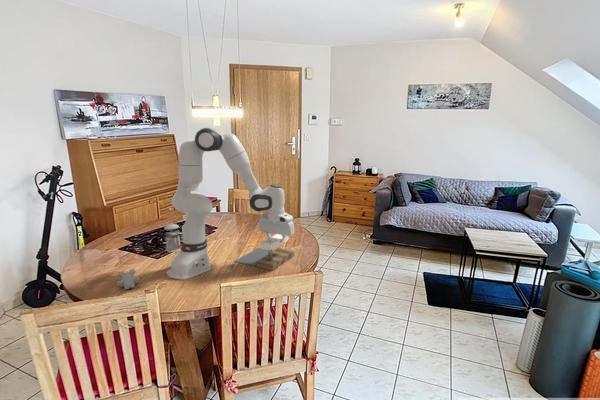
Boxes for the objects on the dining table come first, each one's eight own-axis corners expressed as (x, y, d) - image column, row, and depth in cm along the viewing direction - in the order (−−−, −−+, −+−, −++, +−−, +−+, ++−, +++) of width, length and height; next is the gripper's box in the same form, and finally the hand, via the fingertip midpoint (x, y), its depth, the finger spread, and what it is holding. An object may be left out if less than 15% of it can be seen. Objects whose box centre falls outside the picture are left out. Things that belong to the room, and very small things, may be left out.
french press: (174, 245, 208) (171, 205, 202) (188, 248, 202) (184, 207, 196) (161, 250, 199) (156, 208, 194) (174, 254, 194) (170, 211, 188)
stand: (273, 270, 172) (272, 248, 169) (256, 267, 176) (255, 245, 173) (294, 255, 191) (294, 235, 188) (279, 252, 195) (278, 232, 192)
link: (270, 250, 171) (270, 244, 171) (260, 247, 174) (260, 242, 174) (288, 239, 187) (288, 234, 186) (279, 238, 190) (279, 233, 189)
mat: (254, 266, 177) (254, 265, 177) (234, 261, 183) (234, 261, 183) (276, 252, 196) (276, 251, 196) (258, 248, 202) (258, 247, 202)
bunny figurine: (117, 285, 149) (114, 269, 161) (118, 295, 151) (116, 278, 163) (141, 280, 154) (136, 264, 166) (142, 289, 155) (137, 274, 167)
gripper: (256, 214, 180) (256, 239, 183) (289, 220, 171) (289, 246, 174) (263, 212, 186) (263, 236, 189) (295, 217, 176) (295, 242, 179)
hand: (276, 241), depth 181 cm, fingers closed on link, 6 cm apart
